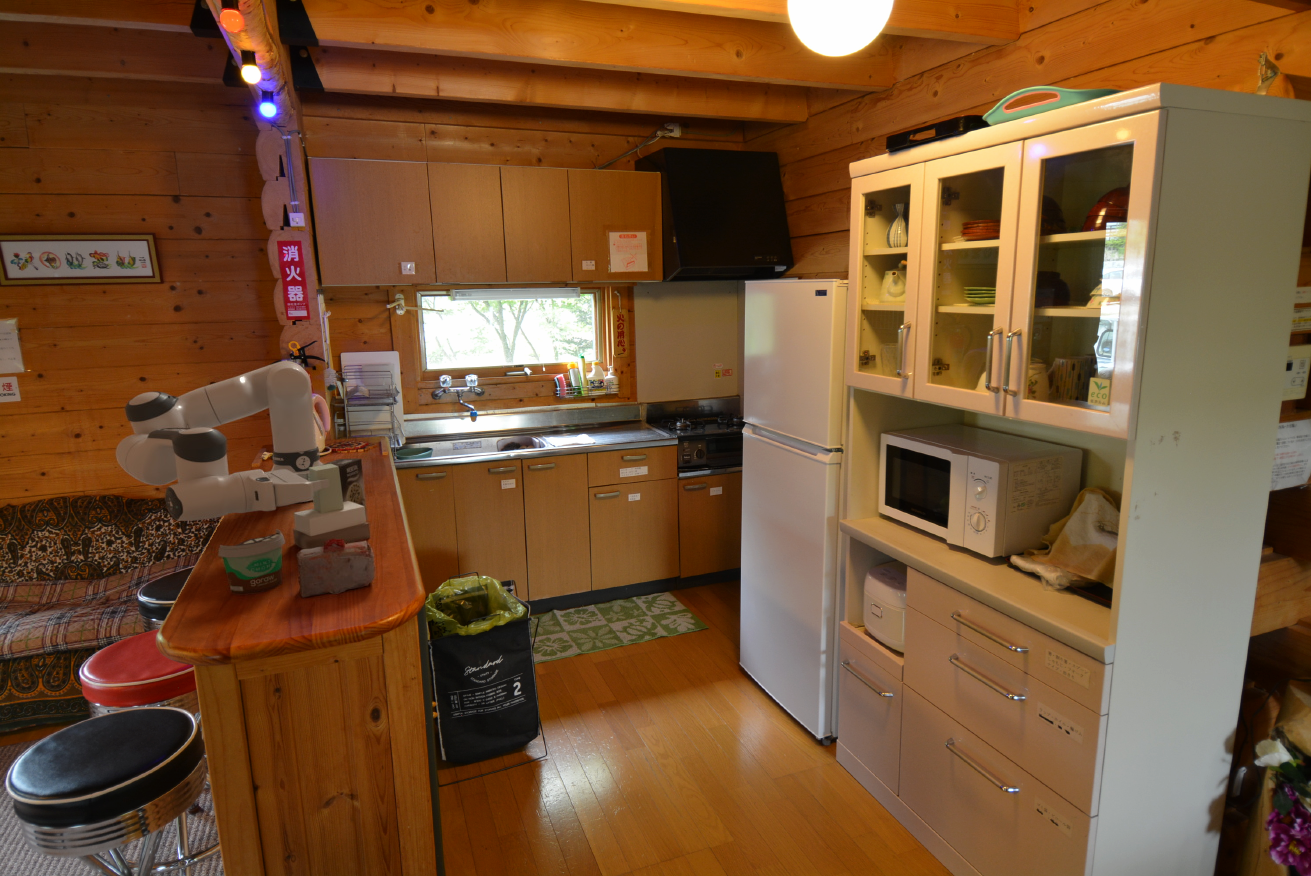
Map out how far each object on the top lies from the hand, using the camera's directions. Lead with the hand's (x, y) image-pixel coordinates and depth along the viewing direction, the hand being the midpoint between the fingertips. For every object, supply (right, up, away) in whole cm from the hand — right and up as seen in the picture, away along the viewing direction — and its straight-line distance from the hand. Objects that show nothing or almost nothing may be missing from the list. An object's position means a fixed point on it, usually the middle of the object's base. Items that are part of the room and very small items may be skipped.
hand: (321, 479), depth 172 cm
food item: (+15, -20, -27) cm, 37 cm away
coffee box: (-1, -12, +16) cm, 20 cm away
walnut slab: (+1, -15, +3) cm, 15 cm away
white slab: (+1, -11, +2) cm, 11 cm away
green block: (+1, -7, +2) cm, 7 cm away
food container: (0, -20, -26) cm, 33 cm away
